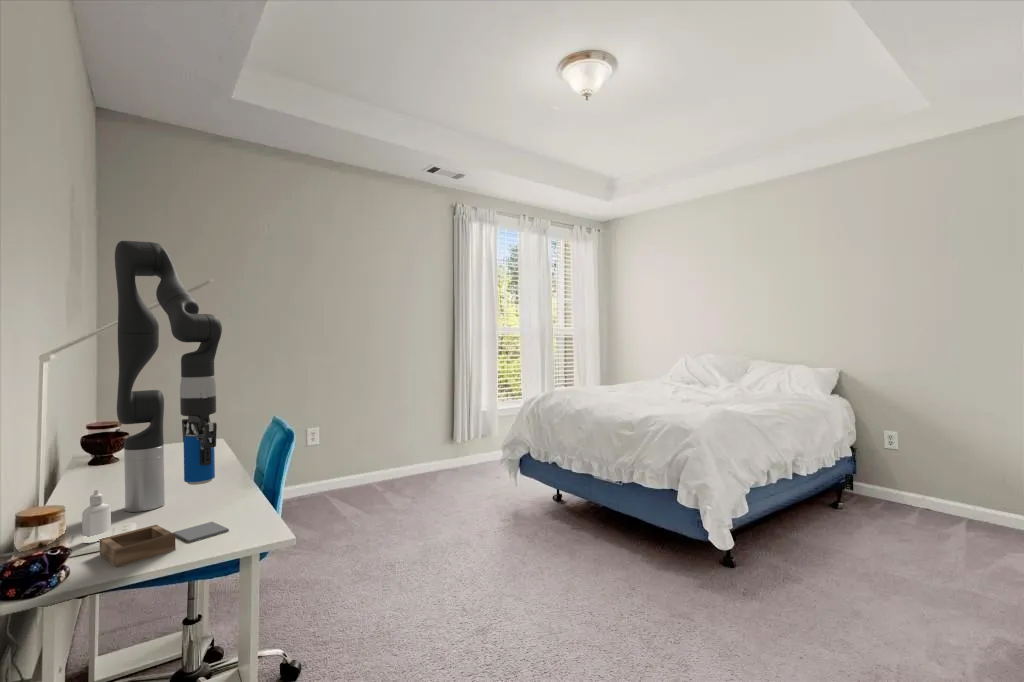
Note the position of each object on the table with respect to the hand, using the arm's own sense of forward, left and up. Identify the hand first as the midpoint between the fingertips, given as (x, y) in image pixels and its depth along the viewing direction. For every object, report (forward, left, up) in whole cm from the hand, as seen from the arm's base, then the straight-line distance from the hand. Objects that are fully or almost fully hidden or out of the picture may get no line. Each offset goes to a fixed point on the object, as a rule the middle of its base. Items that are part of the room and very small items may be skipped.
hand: (199, 462), depth 128 cm
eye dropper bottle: (-16, -16, -17) cm, 29 cm away
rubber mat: (0, 0, -17) cm, 17 cm away
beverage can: (0, 0, -5) cm, 5 cm away
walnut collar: (+1, -13, -17) cm, 22 cm away
